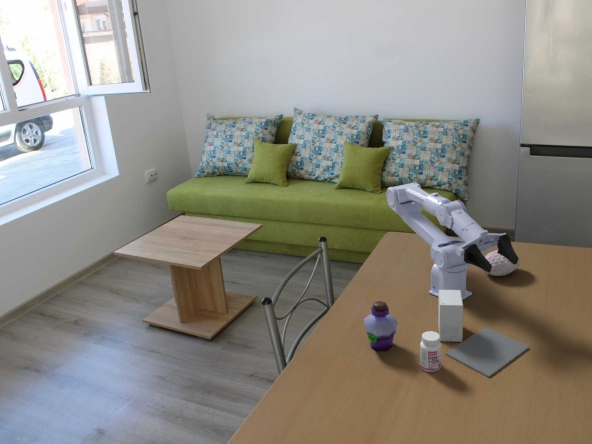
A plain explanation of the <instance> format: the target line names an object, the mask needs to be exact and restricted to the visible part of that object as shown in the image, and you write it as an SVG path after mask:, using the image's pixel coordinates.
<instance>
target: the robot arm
mask: <svg viewBox="0 0 592 444" xmlns="http://www.w3.org/2000/svg"><path fill="white" fill-rule="evenodd" d="M385 192H386V193H385V196H386V197H385V198H386V200H387V206H388V207H389V208H390V209H391V210H392V211H393V212H394V213H395V214H396V215H399V216H400V218H401V219H402V221H403V222H404V223H405V224H406V225H407V226H408V227H409V228H410V229H411V230H413V232H414V233H416V235H418V236H419V237H420V238H421V239H422V240H423V241H424V242H425V244H426V243H427V245H428V246H429V247H430V251H429V252H430V258H431V259H432V261H433V262H434V264H433V266H432V268H431V271H430V290H428V293H429V294H431V295H433V296H435V297H438V298H439V290H461V295H462V301H464V300H465V299H467V298H469V297H470V296H472V295H473V292H472V291H470V290H467V268H469V267H470V265H473V266H474V267H478V268H479V269H481V270H482V271H483V270H485V271H486V272H488V273H489V272H491V268H492V265H491V264H490V262H489V261H488V260H487V259H486V258H485V256H484V254H483V253H485V252H486V251H487V250H490V249H491V248H493V247H495V246H497V250H498V252H497V253H498V254H500V255H502V256H504V257H505V258H507V259H508V260H509V261H510V262H511V263H512V264H514V265H515V264H517V262H518V259H520V257H519V255H518V254H517V253H516V252H515V249H514V247H513V245H512V242H511V237H510V235H509V234H507V233H506V232H504V233H495V232H492V233H491V232H489V231H488V230H487V229H484V228H483V227H481V226H480V224H478V222H476V220H474V219H473V217H471V216H470V215H469V214H468V213H467V208H466V206H465V204H464V202H463V201H461V200H459V199H457V200H454V201H451V200H450V199H448V198H446V197H444V196H441V195H440V194H439V193H438V192H433V193H428V192H426V191H425V190H423V189H422V186H421V184H420V183H417V182H415V181H413V182H412V181H411V183H405V184H400V185H396V186H389V187H388V188H387V190H386V191H385ZM423 209H424V211H426V212H427V213H429V214H431V216H434V217H436V218H437V220H438V222H439V225H440V226H443V227H446V228H448V229H451V230H452V231H453V232H454V233H455V235H457V236H458V237H453V236H448V235H447V234H446V233H445V232H443V230H441V229H440V228H439V227H438V226H436V224H434V223H433V222H432V221H430V219H428V218H427V217H426V216H425V215H424V214H423V213H422V210H423ZM516 254H517V255H516ZM518 257H519V258H518ZM485 271H484V272H485ZM488 273H487V274H488Z"/></svg>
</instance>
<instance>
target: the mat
mask: <svg viewBox="0 0 592 444" xmlns="http://www.w3.org/2000/svg"><path fill="white" fill-rule="evenodd" d="M529 349H530V347H529V345H526V344H524V343H522V342H519V341H518V340H515V339H514V338H510V337H509V336H506V335H504V334H502V333H500V332H497V331H495V330H493V329H491V328H488V327H487V326H485V327H484V328H482V329H480V330H478V331H477V332H476V333H474V334H473V335H471V336H469V337H468V338H466V339H465V340H464V341H463V340H462V342H460V343H459V344H458V345H456V346H454V347H452V348H451V349H450V350H448V351H446V352H445V353H444V354H445V356H447V357H449V358H451V359H452V360H454V361H456V362H458V363H460V364H462V365H464V366H466V367H468V368H469V369H472V370H474V371H476V372H477V373H480V374H481V375H483V376H486V377H487V378H491V377H492V376H493V375H495V374H496V373H498V371H500V370H501V369H503V368H504V367H505V366H507V365H508V364H509V363H511V362H512V361H513V360H515V359H516V358H517V357H519V356H520V355H521V354H524V352H526V351H528V350H529Z"/></svg>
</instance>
